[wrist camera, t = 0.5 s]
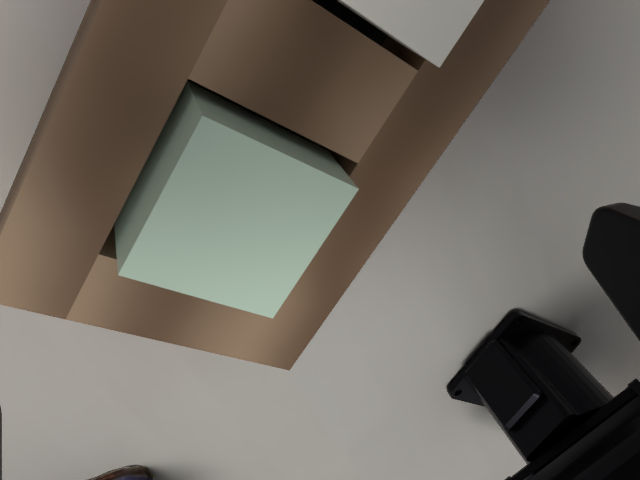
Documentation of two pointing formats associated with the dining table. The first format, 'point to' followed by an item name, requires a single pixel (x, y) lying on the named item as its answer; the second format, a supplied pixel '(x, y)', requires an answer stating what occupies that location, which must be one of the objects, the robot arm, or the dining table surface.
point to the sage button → (229, 206)
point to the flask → (127, 474)
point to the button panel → (259, 96)
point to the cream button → (419, 22)
